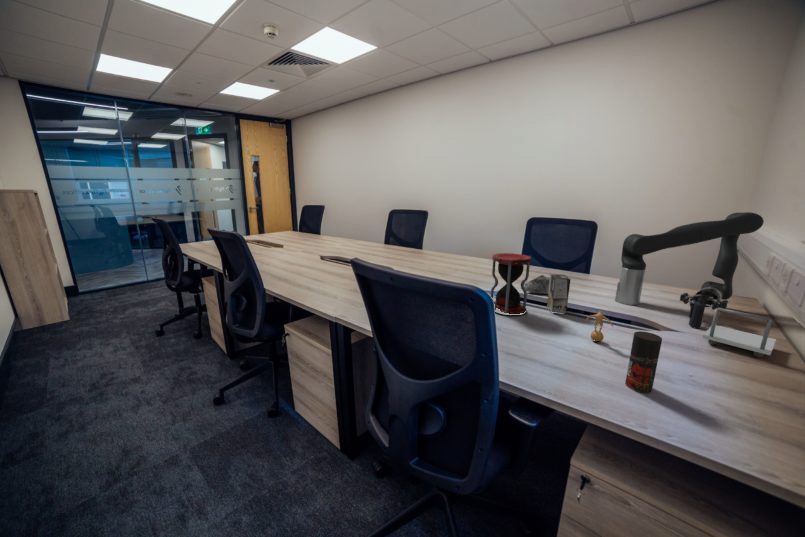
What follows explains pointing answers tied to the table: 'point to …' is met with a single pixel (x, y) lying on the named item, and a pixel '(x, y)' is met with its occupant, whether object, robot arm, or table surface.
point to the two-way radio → (697, 312)
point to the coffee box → (558, 293)
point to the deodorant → (643, 361)
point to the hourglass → (510, 282)
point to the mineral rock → (538, 285)
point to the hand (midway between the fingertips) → (699, 304)
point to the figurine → (596, 334)
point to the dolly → (741, 335)
